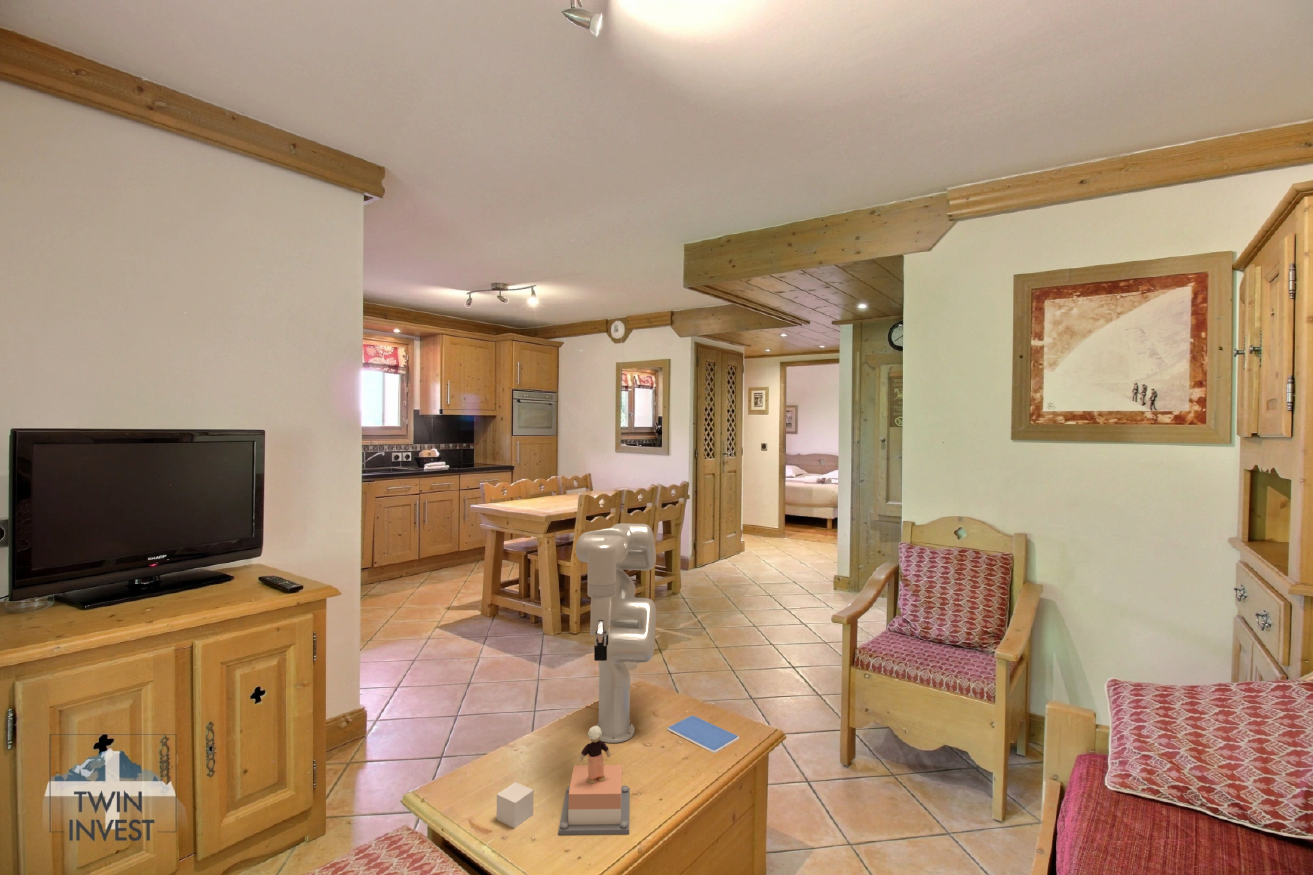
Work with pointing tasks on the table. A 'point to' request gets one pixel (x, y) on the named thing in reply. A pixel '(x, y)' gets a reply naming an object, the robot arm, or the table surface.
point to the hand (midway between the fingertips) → (601, 652)
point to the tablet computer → (703, 734)
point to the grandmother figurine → (595, 755)
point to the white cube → (515, 804)
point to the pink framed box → (596, 804)
